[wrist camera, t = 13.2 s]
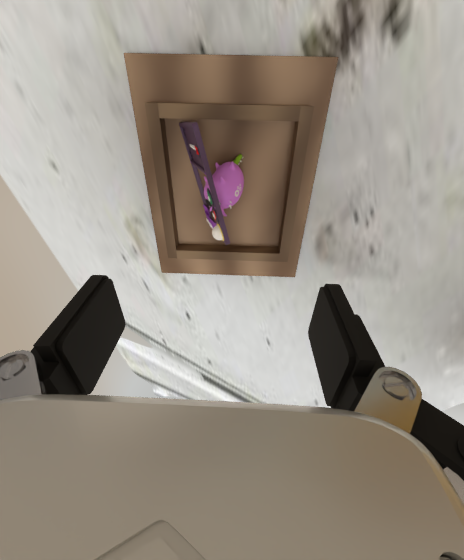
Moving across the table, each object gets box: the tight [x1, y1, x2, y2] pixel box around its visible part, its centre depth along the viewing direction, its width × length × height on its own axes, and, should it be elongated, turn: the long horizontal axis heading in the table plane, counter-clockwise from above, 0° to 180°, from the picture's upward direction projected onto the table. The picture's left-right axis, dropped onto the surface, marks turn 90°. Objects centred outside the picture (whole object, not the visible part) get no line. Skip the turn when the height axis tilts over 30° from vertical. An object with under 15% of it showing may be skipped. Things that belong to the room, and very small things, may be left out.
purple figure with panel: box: [179, 122, 244, 245], centre depth 22 cm, size 7×5×9 cm
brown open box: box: [124, 53, 338, 277], centre depth 25 cm, size 16×20×3 cm
